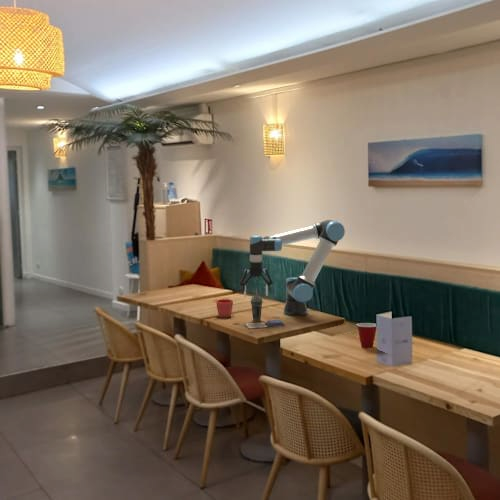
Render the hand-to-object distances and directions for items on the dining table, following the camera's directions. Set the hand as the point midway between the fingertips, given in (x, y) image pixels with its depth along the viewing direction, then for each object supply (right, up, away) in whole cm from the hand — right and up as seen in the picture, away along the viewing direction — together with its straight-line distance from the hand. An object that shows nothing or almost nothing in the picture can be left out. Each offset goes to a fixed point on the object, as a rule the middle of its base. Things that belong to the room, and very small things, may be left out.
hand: (256, 296), depth 384 cm
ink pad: (+11, -16, -10) cm, 22 cm away
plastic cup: (+56, -22, -61) cm, 86 cm away
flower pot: (-20, -14, +15) cm, 28 cm away
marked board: (0, -17, -13) cm, 21 cm away
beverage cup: (0, -15, +2) cm, 15 cm away
